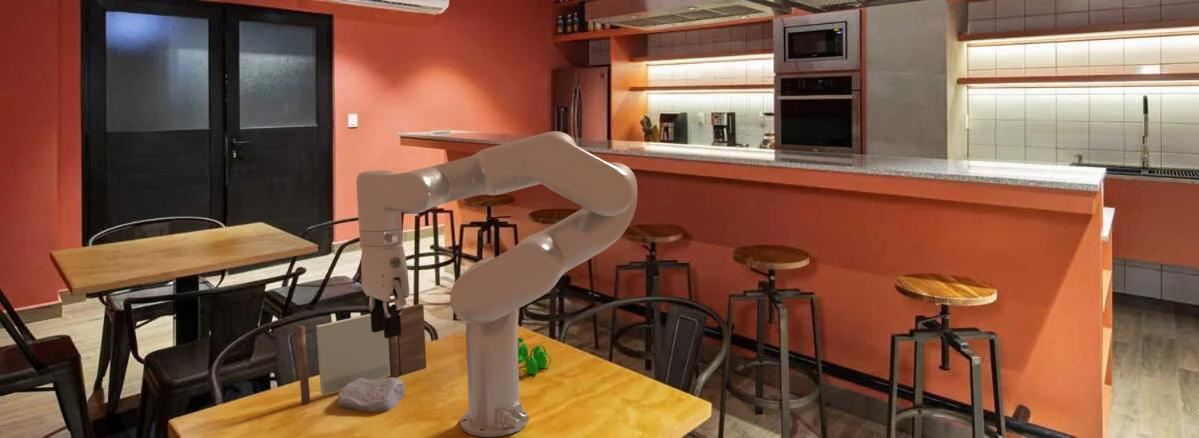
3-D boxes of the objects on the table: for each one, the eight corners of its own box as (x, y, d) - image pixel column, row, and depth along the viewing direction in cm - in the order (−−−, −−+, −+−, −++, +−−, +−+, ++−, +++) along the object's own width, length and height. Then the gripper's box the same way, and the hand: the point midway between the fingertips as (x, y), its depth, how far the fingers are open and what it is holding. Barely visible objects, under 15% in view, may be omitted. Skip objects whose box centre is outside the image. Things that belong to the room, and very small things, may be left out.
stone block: (391, 422, 135) (408, 392, 145) (387, 401, 134) (405, 372, 143) (333, 421, 137) (354, 392, 146) (328, 401, 135) (350, 372, 144)
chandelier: (495, 356, 167) (494, 328, 166) (556, 358, 165) (555, 330, 164) (478, 379, 152) (477, 349, 151) (545, 381, 151) (544, 351, 150)
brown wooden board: (427, 368, 158) (424, 300, 156) (304, 405, 138) (298, 328, 136) (422, 366, 160) (419, 299, 157) (300, 402, 140) (294, 326, 137)
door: (387, 373, 153) (384, 310, 151) (390, 375, 152) (386, 311, 150) (320, 393, 142) (316, 325, 140) (323, 394, 142) (318, 327, 139)
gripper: (423, 241, 123) (427, 339, 126) (378, 230, 135) (383, 320, 138) (384, 246, 118) (390, 349, 121) (341, 235, 130) (347, 328, 133)
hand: (386, 332), depth 129 cm, fingers open, 4 cm apart
